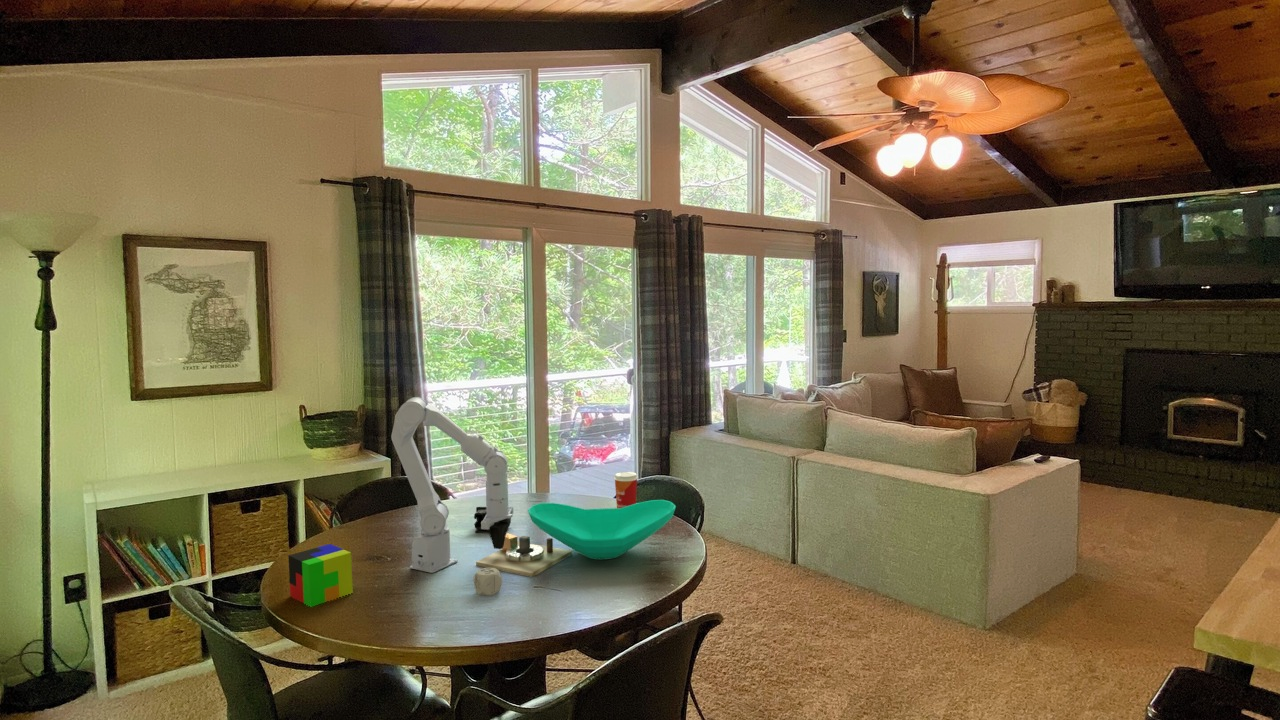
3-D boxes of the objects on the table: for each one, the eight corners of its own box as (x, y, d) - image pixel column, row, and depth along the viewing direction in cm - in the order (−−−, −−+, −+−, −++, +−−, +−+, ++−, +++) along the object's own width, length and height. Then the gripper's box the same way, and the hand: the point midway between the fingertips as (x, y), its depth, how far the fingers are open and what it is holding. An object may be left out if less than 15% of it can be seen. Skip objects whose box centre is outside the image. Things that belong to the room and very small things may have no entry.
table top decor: (671, 536, 206) (670, 491, 205) (682, 572, 178) (681, 520, 177) (533, 540, 203) (532, 495, 202) (523, 577, 176) (522, 525, 175)
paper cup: (611, 515, 228) (611, 472, 226) (634, 513, 230) (633, 470, 229) (618, 522, 220) (617, 478, 219) (641, 519, 222) (641, 475, 221)
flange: (551, 554, 188) (550, 540, 188) (521, 564, 181) (520, 550, 181) (518, 542, 198) (518, 529, 197) (489, 552, 191) (488, 538, 190)
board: (532, 576, 176) (531, 553, 175) (476, 565, 184) (475, 542, 184) (572, 554, 192) (571, 532, 191) (518, 544, 200) (518, 523, 200)
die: (482, 597, 164) (481, 576, 163) (473, 591, 168) (473, 570, 167) (502, 592, 167) (501, 571, 166) (493, 586, 171) (492, 565, 170)
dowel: (550, 553, 190) (550, 540, 190) (545, 552, 191) (545, 539, 191) (554, 551, 192) (553, 538, 191) (549, 550, 192) (548, 537, 192)
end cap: (511, 525, 218) (510, 504, 218) (506, 533, 211) (505, 510, 211) (479, 525, 218) (478, 504, 218) (473, 533, 211) (472, 511, 211)
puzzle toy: (331, 583, 173) (330, 543, 173) (352, 593, 167) (351, 552, 166) (290, 596, 166) (288, 555, 165) (310, 608, 159) (308, 564, 159)
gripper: (498, 506, 179) (499, 558, 180) (522, 491, 193) (524, 540, 194) (473, 504, 181) (474, 556, 182) (499, 490, 195) (500, 538, 196)
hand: (498, 547), depth 188 cm, fingers closed
